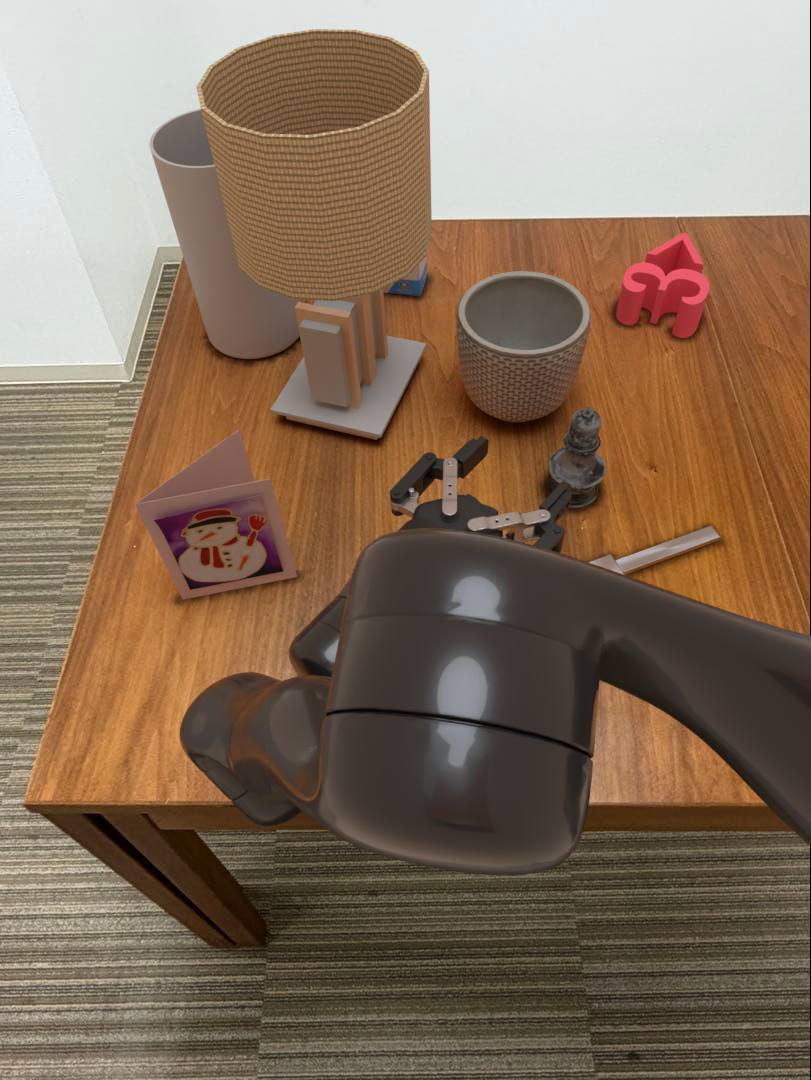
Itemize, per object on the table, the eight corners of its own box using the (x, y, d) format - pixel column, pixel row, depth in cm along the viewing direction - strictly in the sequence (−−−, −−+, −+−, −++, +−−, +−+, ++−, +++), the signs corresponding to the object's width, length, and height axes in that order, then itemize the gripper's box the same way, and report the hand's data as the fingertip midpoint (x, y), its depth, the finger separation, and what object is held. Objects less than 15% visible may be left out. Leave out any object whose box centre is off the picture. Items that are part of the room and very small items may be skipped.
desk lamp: (310, 324, 103) (258, 19, 74) (455, 353, 98) (458, 40, 70) (242, 429, 92) (152, 120, 64) (402, 467, 88) (381, 152, 59)
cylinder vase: (319, 306, 105) (288, 112, 85) (284, 369, 98) (241, 174, 78) (232, 293, 108) (182, 101, 87) (192, 353, 101) (127, 160, 80)
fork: (705, 523, 81) (706, 519, 81) (723, 547, 80) (725, 542, 79) (537, 583, 78) (537, 580, 77) (552, 609, 76) (553, 606, 76)
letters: (640, 258, 108) (647, 225, 104) (716, 275, 105) (727, 241, 101) (611, 321, 101) (618, 288, 97) (692, 341, 98) (703, 307, 94)
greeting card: (182, 606, 78) (134, 512, 66) (179, 547, 83) (133, 448, 70) (298, 583, 79) (271, 486, 67) (288, 526, 84) (262, 424, 72)
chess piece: (538, 472, 86) (549, 390, 77) (590, 464, 87) (608, 381, 77) (554, 514, 83) (568, 434, 73) (608, 505, 83) (629, 423, 74)
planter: (596, 387, 94) (614, 295, 83) (540, 463, 87) (552, 373, 77) (493, 347, 99) (498, 255, 88) (432, 416, 92) (430, 325, 82)
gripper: (480, 613, 56) (602, 474, 63) (333, 517, 62) (459, 399, 69) (478, 663, 62) (589, 531, 69) (344, 571, 68) (459, 458, 75)
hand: (524, 465), depth 69 cm, fingers open, 8 cm apart
